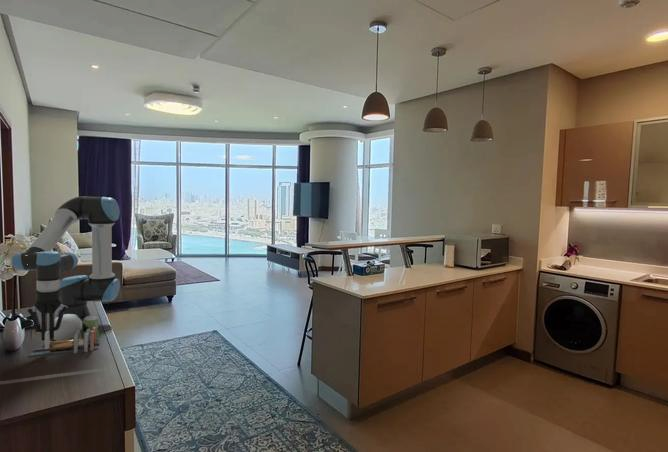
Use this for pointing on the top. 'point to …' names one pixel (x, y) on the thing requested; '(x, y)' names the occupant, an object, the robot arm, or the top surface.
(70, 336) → the decorative ball
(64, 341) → the copper tube
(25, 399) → the top surface
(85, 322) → the beverage can
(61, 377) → the top surface
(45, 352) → the grey open frame rack
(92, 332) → the aperture bridge
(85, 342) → the collar
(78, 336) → the collar
